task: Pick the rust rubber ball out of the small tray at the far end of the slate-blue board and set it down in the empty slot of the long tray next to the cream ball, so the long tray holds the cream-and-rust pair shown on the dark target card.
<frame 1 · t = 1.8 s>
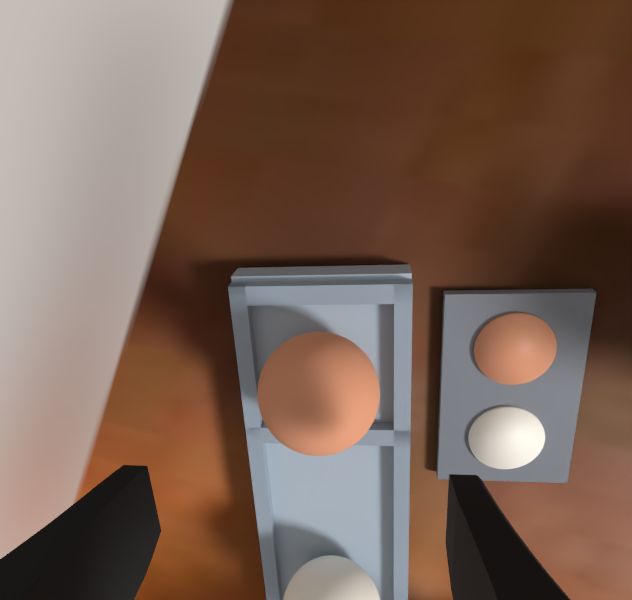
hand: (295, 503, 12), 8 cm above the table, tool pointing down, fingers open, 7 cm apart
cream ball: (335, 568, 22), point 1 cm above the table, touching board
board: (333, 488, 22), on the table
rust ball: (324, 363, 19), point 1 cm above the table, touching board
target card: (507, 388, 19), on the table
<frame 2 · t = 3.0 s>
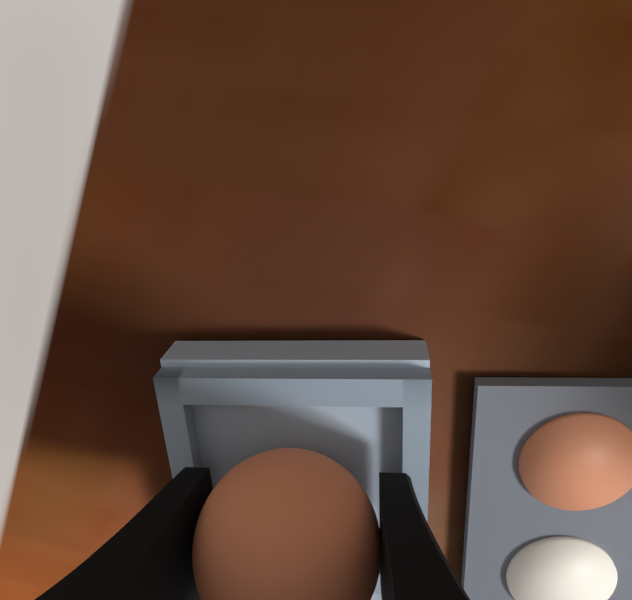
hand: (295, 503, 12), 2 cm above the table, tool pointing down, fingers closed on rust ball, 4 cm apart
rust ball: (300, 480, 13), point 1 cm above the table, touching board, gripper
target card: (563, 509, 13), on the table
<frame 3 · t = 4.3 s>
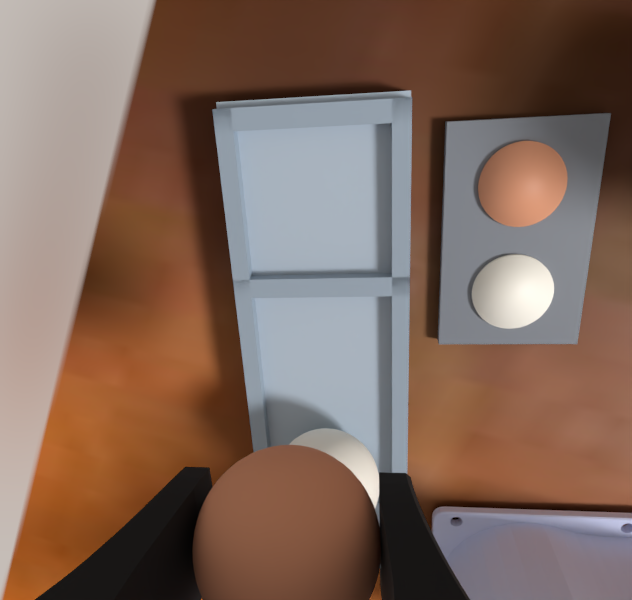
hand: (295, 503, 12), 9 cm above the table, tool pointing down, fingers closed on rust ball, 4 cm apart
cream ball: (330, 449, 21), point 1 cm above the table, touching board
board: (328, 362, 21), on the table
rust ball: (298, 477, 13), point 8 cm above the table, touching gripper
target card: (513, 237, 18), on the table
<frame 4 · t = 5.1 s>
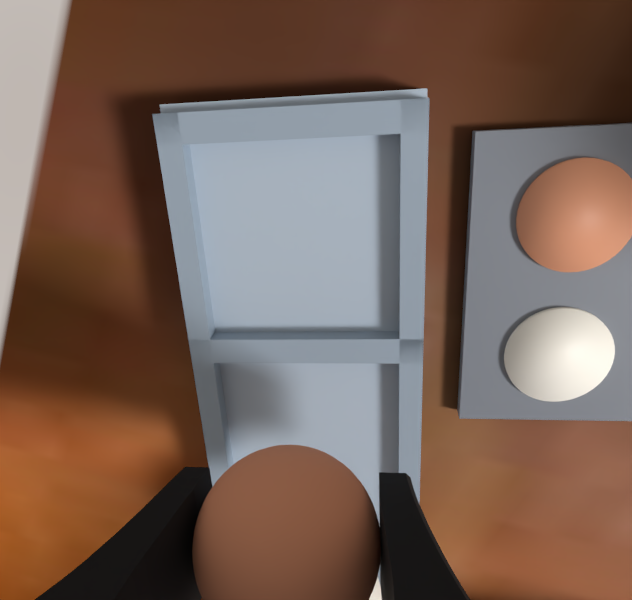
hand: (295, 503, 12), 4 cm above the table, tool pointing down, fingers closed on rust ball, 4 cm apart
board: (317, 435, 16), on the table
rust ball: (298, 477, 13), point 3 cm above the table, touching gripper
target card: (560, 283, 13), on the table
when the fingers open (3 cm above the table, at t = 5.8 s): rust ball drops 1 cm, resting on board.
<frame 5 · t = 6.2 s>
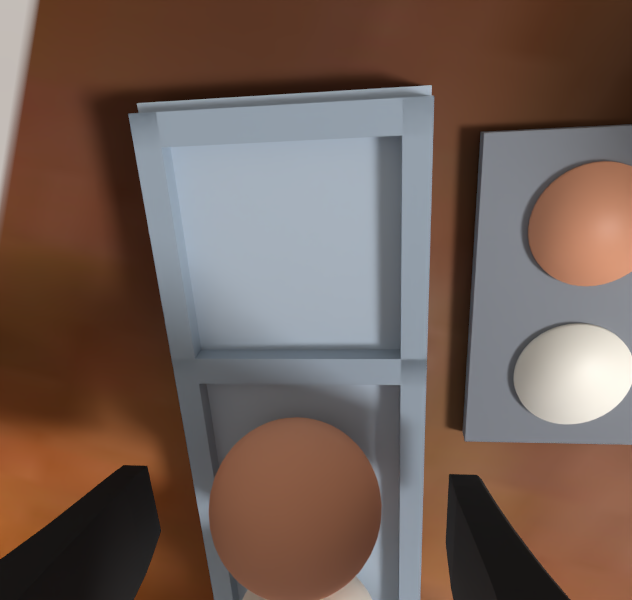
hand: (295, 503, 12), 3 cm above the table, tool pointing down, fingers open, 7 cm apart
cream ball: (315, 573, 15), point 1 cm above the table, touching board
board: (312, 457, 15), on the table
rust ball: (304, 450, 14), point 1 cm above the table, touching board
target card: (575, 297, 12), on the table
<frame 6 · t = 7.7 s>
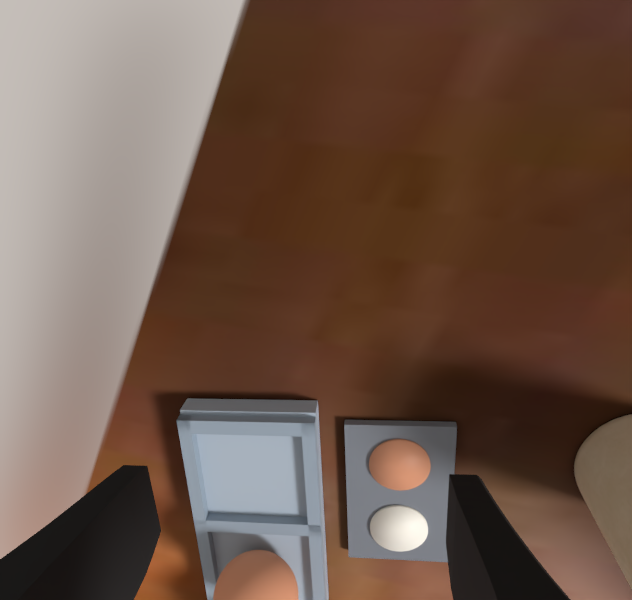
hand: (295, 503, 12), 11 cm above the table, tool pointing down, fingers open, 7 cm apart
board: (269, 560, 27), on the table
rust ball: (262, 561, 26), point 1 cm above the table, touching board
target card: (398, 490, 25), on the table
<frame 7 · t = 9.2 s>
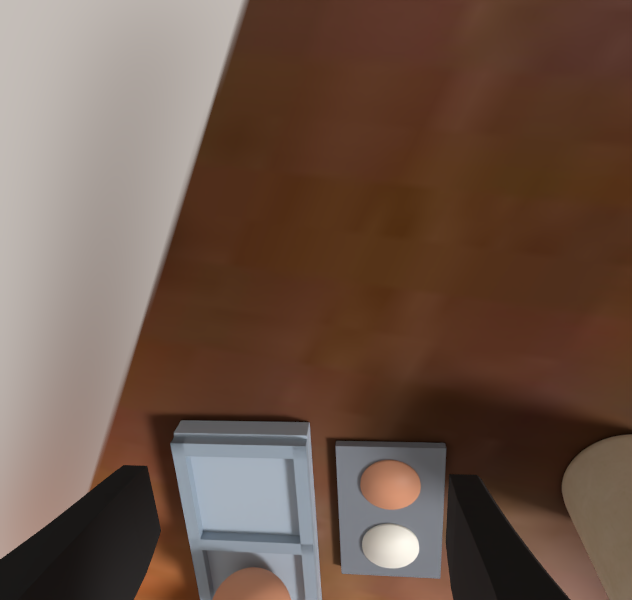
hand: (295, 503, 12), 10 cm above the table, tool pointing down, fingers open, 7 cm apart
board: (263, 576, 28), on the table
candle: (621, 479, 23), on the table
rust ball: (257, 578, 26), point 1 cm above the table, touching board
target card: (390, 509, 25), on the table
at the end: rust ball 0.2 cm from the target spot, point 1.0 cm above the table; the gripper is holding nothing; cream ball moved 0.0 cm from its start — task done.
